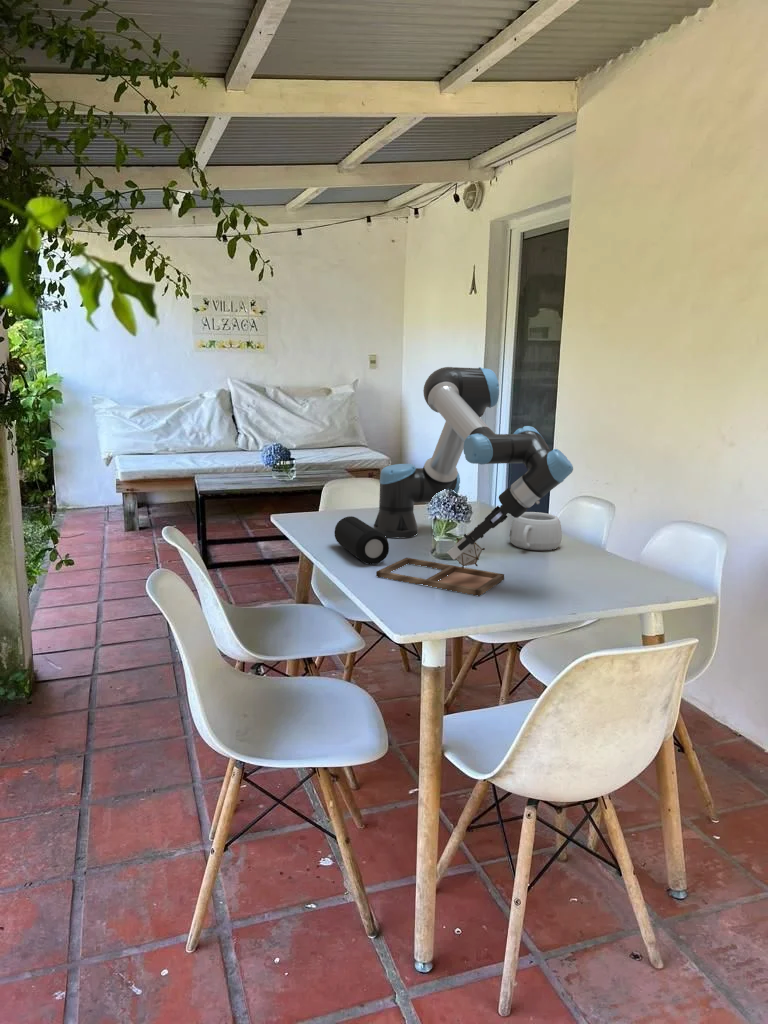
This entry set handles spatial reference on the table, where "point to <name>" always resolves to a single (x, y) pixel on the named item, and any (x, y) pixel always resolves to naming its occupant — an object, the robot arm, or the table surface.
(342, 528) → the portable speaker
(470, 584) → the dice tray
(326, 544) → the table surface
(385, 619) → the table surface
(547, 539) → the mug
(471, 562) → the game die
